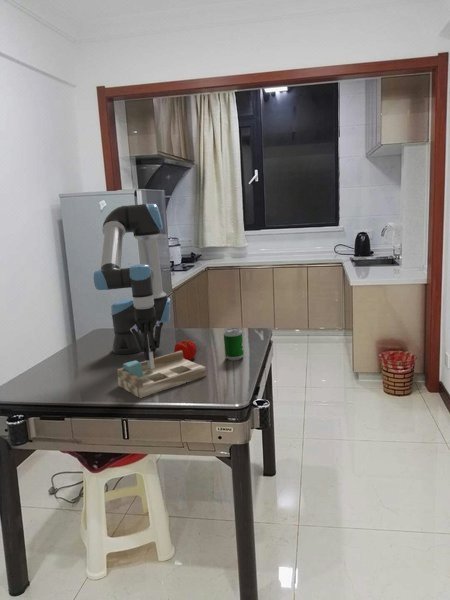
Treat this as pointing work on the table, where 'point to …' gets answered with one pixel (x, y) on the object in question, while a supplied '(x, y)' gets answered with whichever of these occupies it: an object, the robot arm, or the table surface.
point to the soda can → (233, 344)
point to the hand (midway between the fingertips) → (151, 367)
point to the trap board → (161, 375)
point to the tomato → (186, 349)
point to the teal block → (134, 368)
